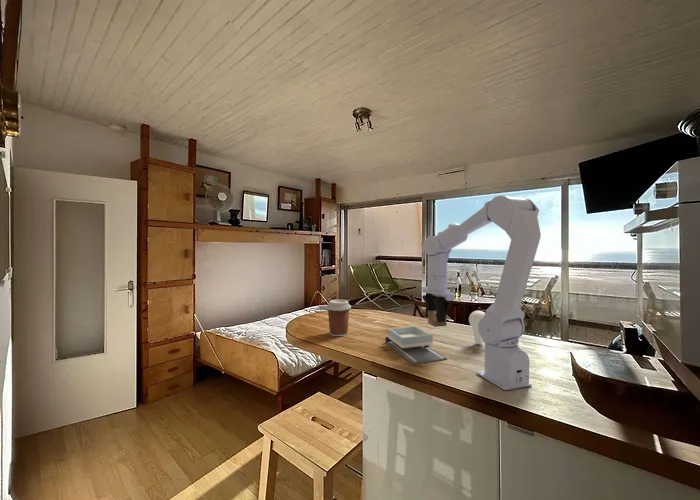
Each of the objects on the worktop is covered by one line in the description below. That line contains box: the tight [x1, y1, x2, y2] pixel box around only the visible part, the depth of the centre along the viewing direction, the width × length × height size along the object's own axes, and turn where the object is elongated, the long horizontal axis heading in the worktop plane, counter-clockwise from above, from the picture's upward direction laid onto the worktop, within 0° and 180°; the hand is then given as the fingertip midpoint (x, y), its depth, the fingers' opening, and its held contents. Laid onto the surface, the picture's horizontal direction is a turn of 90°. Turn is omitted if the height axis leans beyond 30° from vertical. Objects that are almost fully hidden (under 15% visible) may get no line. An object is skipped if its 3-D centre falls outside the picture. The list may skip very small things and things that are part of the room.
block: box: [427, 310, 448, 328], centre depth 93 cm, size 4×4×4 cm
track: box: [384, 336, 448, 365], centre depth 93 cm, size 18×11×2 cm, turn 17°
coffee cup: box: [325, 298, 352, 337], centre depth 109 cm, size 9×9×12 cm
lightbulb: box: [468, 310, 485, 345], centre depth 98 cm, size 6×6×11 cm
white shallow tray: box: [387, 325, 434, 351], centre depth 96 cm, size 10×10×4 cm
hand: (436, 319), depth 93 cm, fingers closed on block, 4 cm apart
